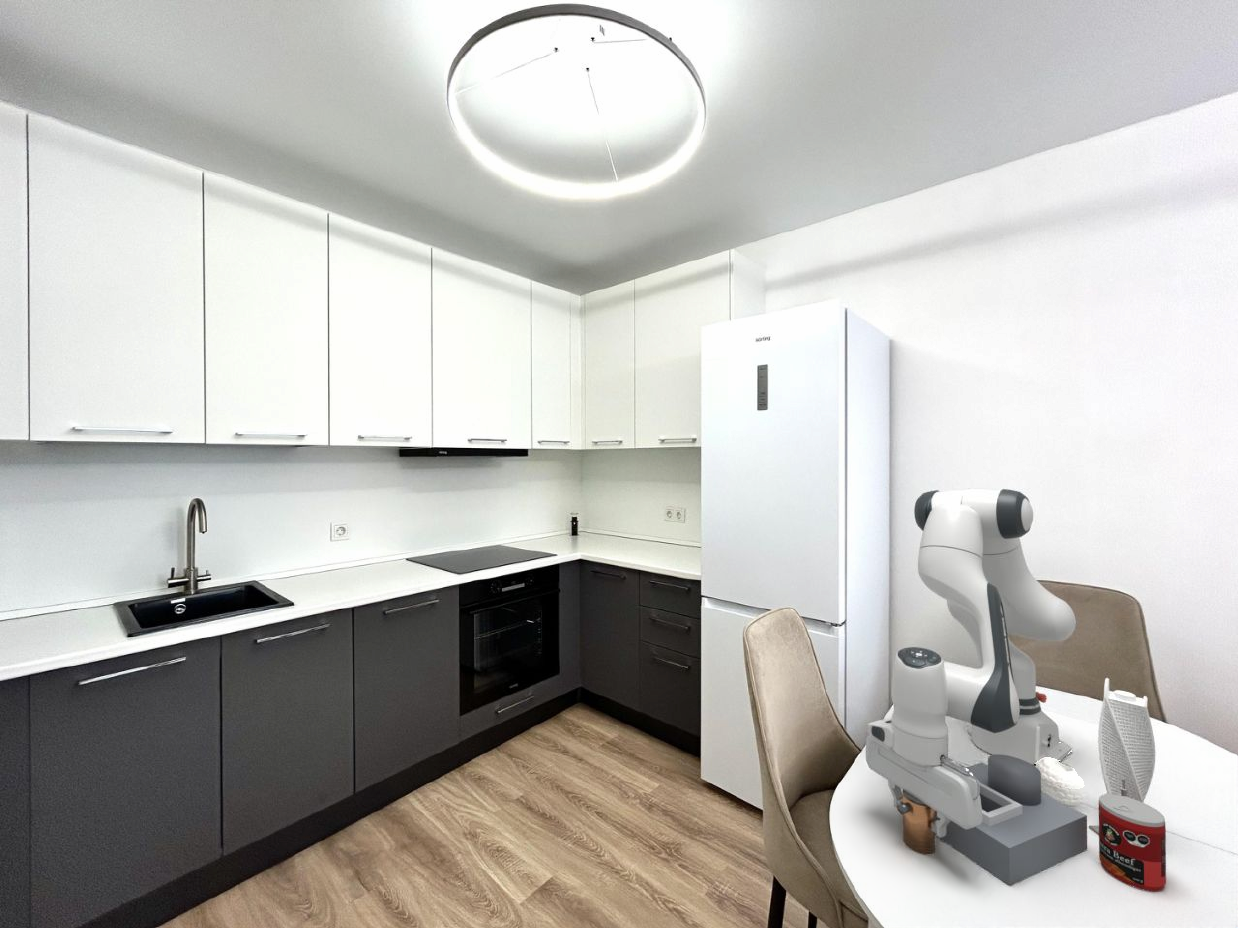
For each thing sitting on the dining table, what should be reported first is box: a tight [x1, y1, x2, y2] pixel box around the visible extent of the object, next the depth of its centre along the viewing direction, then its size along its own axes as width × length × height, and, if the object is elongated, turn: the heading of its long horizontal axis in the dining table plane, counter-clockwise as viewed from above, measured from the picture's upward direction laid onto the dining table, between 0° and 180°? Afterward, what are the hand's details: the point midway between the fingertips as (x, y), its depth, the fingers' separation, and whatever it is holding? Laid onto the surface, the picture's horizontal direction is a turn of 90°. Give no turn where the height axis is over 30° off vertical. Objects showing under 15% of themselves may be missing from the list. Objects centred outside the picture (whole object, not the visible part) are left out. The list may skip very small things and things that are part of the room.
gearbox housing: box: [935, 754, 1088, 887], centre depth 95 cm, size 22×18×11 cm
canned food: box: [1098, 793, 1167, 892], centre depth 85 cm, size 8×8×11 cm
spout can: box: [896, 789, 936, 856], centre depth 91 cm, size 7×5×9 cm
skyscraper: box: [1088, 677, 1156, 836], centre depth 94 cm, size 8×8×28 cm
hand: (919, 820), depth 91 cm, fingers open, 6 cm apart
